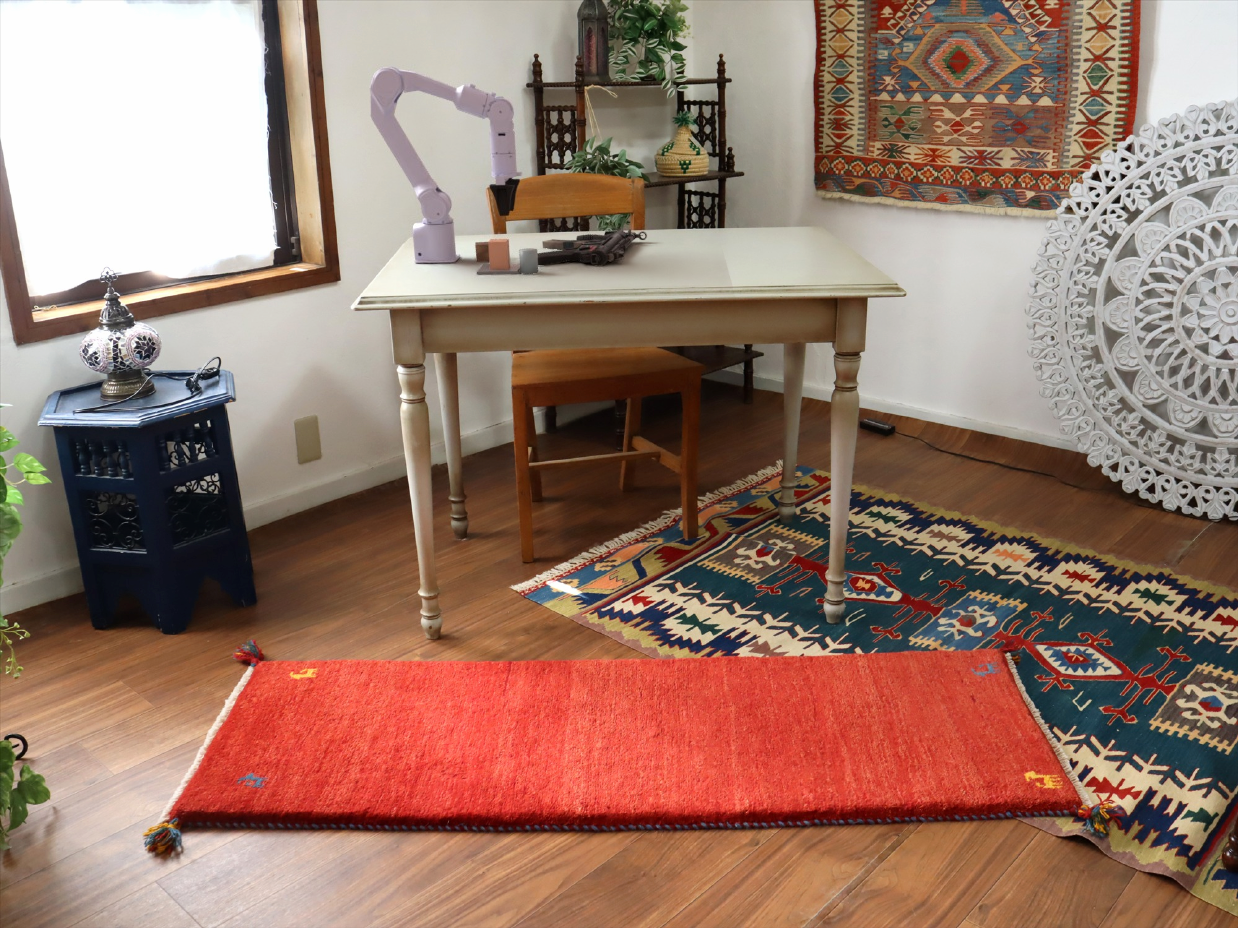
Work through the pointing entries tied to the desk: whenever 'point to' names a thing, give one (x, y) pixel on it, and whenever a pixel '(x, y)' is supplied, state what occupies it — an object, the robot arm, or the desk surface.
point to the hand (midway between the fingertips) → (506, 213)
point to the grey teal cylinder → (528, 261)
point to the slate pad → (486, 269)
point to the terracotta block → (499, 253)
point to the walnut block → (482, 251)
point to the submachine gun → (589, 248)
